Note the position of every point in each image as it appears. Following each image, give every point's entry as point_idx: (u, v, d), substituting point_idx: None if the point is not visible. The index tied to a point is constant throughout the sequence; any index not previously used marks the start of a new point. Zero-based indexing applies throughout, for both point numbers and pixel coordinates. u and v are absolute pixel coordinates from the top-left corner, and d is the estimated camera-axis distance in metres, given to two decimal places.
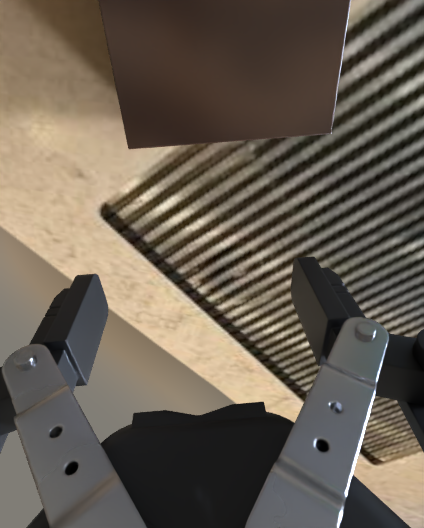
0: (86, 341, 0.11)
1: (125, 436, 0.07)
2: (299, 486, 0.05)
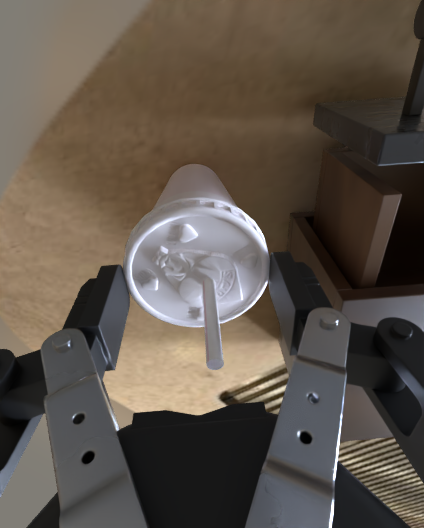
0: (113, 328, 0.11)
1: (125, 436, 0.07)
2: (299, 486, 0.05)
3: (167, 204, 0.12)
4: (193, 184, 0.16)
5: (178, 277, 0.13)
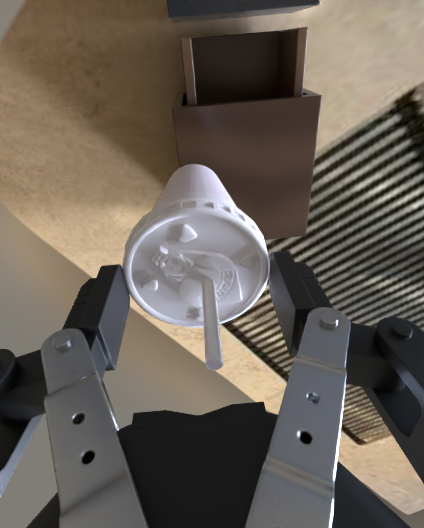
0: (113, 328, 0.11)
1: (125, 436, 0.07)
2: (299, 486, 0.05)
3: (166, 204, 0.12)
4: (193, 184, 0.16)
5: (177, 277, 0.13)
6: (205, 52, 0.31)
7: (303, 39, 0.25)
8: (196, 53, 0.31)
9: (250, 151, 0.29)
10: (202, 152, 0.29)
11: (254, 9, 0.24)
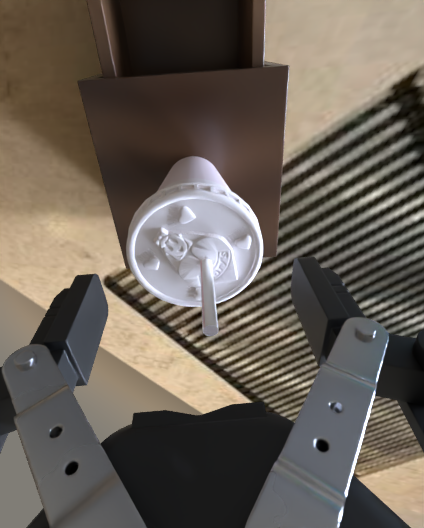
0: (86, 341, 0.11)
1: (125, 436, 0.07)
2: (299, 486, 0.05)
3: (167, 188, 0.14)
4: (192, 173, 0.17)
5: (177, 257, 0.14)
6: (140, 12, 0.23)
7: None
8: (128, 13, 0.23)
9: (194, 144, 0.21)
10: (128, 144, 0.21)
11: None
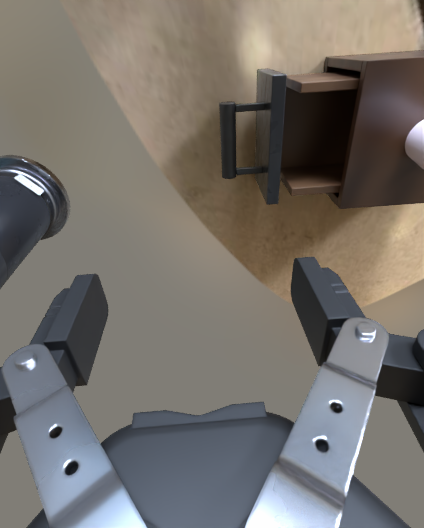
0: (86, 341, 0.11)
1: (125, 436, 0.07)
2: (299, 486, 0.05)
3: None
4: None
5: None
6: (289, 155, 0.36)
7: (310, 86, 0.26)
8: (288, 163, 0.37)
9: (397, 138, 0.28)
10: (382, 185, 0.31)
11: (282, 137, 0.29)
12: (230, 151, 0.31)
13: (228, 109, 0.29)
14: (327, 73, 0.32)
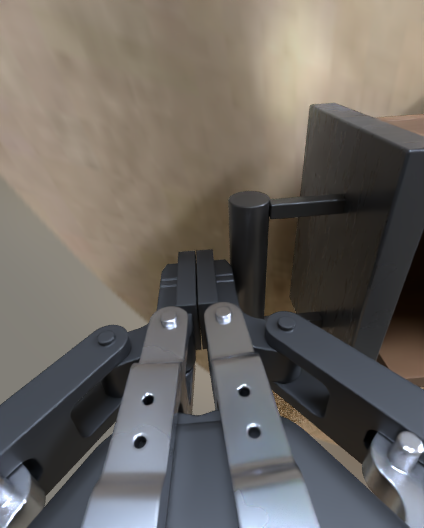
0: (198, 310, 0.12)
1: None
2: (299, 486, 0.05)
3: None
4: None
5: None
6: None
7: None
8: None
9: None
10: None
11: (398, 297, 0.11)
12: (253, 299, 0.13)
13: (252, 218, 0.11)
14: None
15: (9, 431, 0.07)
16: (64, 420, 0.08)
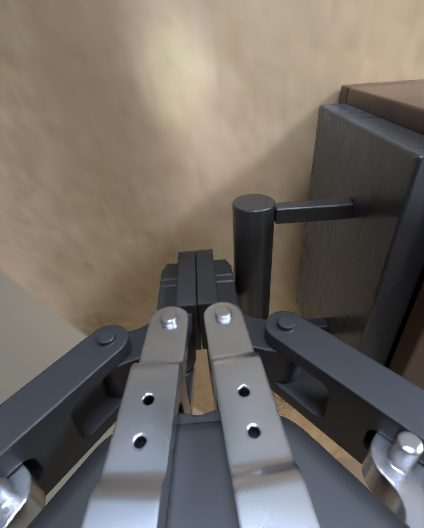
0: None
1: None
2: (299, 486, 0.05)
3: None
4: None
5: None
6: None
7: None
8: None
9: None
10: None
11: (406, 307, 0.10)
12: (257, 304, 0.13)
13: (256, 222, 0.11)
14: None
15: (9, 431, 0.07)
16: (64, 420, 0.08)
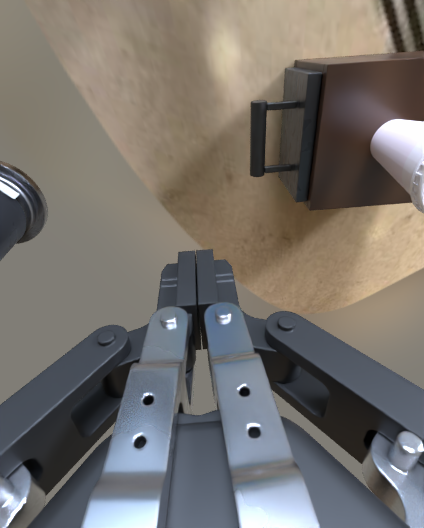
0: (198, 310, 0.12)
1: None
2: (299, 486, 0.05)
3: (411, 190, 0.22)
4: (396, 160, 0.24)
5: None
6: (313, 153, 0.36)
7: None
8: None
9: (362, 140, 0.28)
10: (350, 186, 0.31)
11: (314, 135, 0.29)
12: (260, 149, 0.31)
13: (260, 107, 0.29)
14: None
15: (9, 431, 0.07)
16: (64, 420, 0.08)
